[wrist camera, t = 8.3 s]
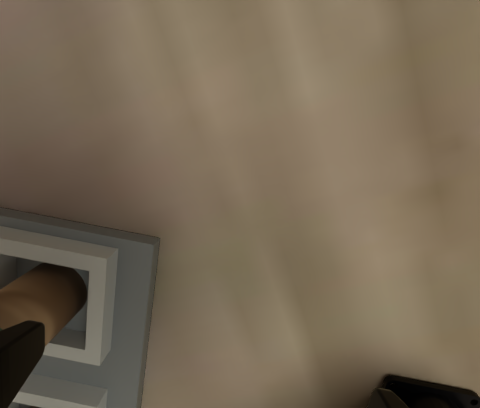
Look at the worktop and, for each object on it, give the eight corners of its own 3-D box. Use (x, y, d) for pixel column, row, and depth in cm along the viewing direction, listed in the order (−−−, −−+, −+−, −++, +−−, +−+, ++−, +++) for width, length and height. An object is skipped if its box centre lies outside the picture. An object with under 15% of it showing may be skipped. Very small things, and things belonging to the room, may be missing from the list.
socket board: (160, 238, 21) (145, 254, 18) (134, 462, 26) (120, 501, 23) (-18, 204, 21) (-58, 215, 18) (-7, 433, 26) (-37, 468, 24)
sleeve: (90, 266, 20) (3, 340, 13) (87, 322, 21) (5, 416, 15) (26, 254, 20) (-92, 321, 14) (26, 310, 21) (-83, 398, 15)
